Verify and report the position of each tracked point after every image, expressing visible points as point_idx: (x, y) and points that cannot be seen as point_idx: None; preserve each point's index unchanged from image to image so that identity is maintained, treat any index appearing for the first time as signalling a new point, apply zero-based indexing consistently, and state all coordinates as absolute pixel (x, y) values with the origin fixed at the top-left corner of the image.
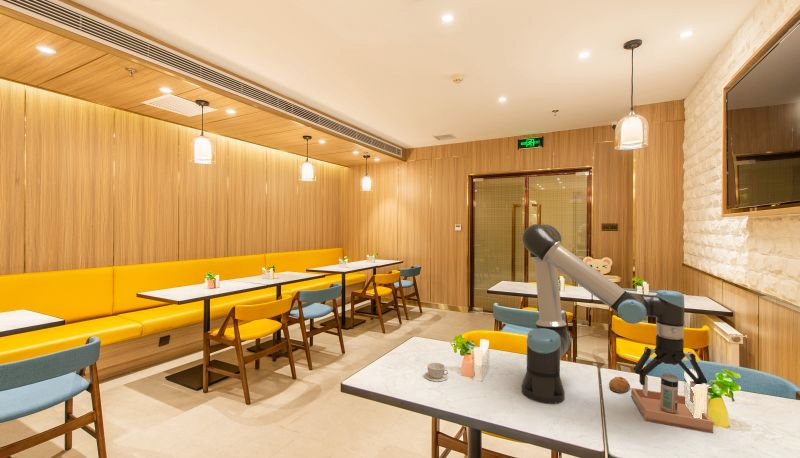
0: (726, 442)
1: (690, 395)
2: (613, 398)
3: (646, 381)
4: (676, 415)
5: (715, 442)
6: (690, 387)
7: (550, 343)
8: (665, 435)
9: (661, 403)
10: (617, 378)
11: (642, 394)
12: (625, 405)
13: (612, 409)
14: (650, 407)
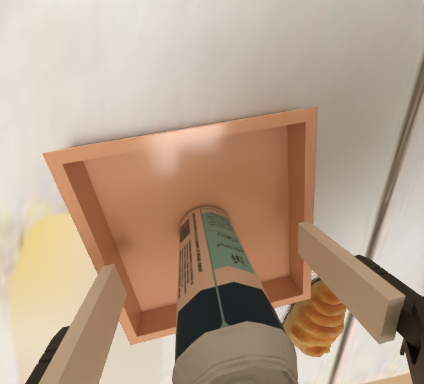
0: (24, 85)
1: (117, 311)
2: (345, 232)
3: (365, 272)
4: (196, 129)
5: (64, 57)
6: (101, 361)
7: None
8: (245, 7)
9: (234, 230)
10: (328, 343)
11: (271, 287)
12: (324, 202)
13: (375, 144)
14: (259, 216)
